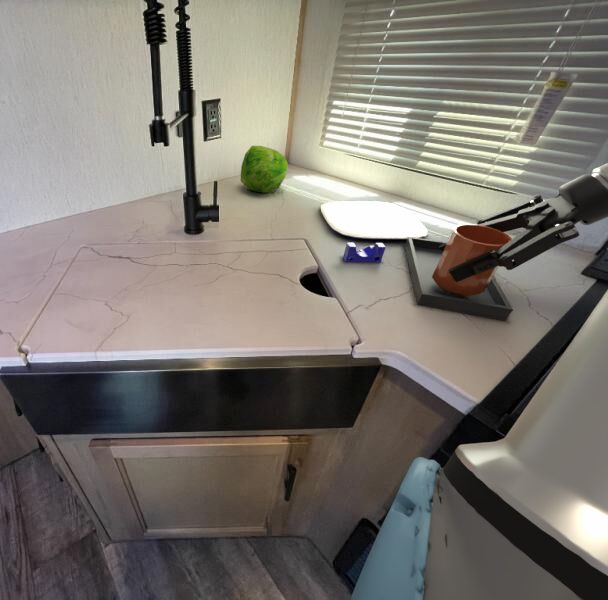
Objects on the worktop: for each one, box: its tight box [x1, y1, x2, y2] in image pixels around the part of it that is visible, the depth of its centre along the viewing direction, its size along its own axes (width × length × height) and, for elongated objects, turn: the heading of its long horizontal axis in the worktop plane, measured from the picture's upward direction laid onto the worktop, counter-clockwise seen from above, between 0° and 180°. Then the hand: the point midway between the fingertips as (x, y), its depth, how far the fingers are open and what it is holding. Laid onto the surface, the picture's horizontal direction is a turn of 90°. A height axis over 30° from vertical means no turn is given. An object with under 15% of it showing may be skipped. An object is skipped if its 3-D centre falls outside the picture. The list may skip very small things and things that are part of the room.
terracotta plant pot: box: [432, 223, 513, 296], centre depth 66 cm, size 9×9×11 cm
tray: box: [404, 237, 514, 322], centre depth 74 cm, size 26×15×3 cm, turn 161°
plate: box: [319, 200, 429, 241], centre depth 97 cm, size 25×25×2 cm
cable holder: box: [342, 242, 386, 264], centre depth 80 cm, size 8×4×4 cm, turn 89°
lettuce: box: [240, 145, 289, 194], centre depth 116 cm, size 15×20×14 cm
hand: (447, 263), depth 68 cm, fingers closed on terracotta plant pot, 9 cm apart
